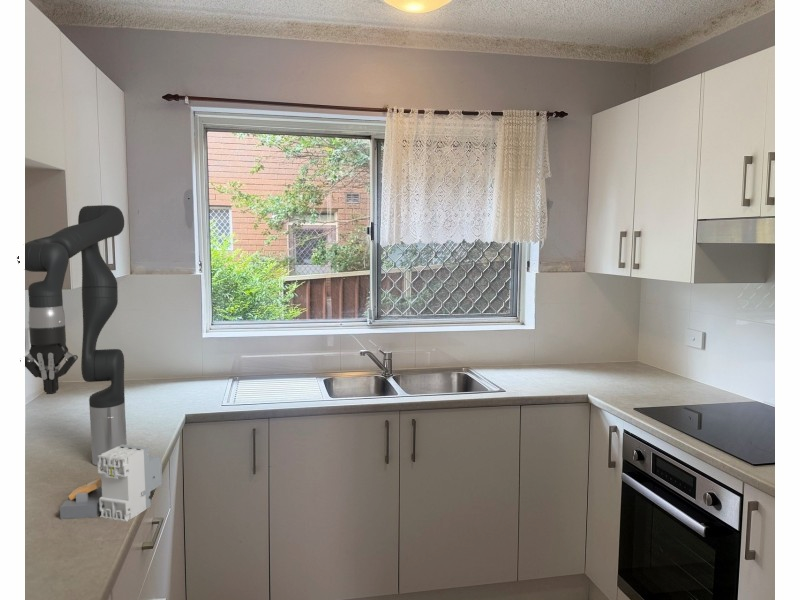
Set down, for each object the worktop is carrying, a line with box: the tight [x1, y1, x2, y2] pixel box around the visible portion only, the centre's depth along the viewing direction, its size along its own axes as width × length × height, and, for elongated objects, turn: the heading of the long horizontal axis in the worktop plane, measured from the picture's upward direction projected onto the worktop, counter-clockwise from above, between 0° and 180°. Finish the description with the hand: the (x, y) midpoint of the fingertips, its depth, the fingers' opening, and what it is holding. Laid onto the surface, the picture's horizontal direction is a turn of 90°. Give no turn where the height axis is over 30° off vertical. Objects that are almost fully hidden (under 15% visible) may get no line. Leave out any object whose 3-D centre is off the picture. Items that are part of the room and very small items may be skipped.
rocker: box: [68, 477, 102, 500], centre depth 139 cm, size 4×7×2 cm, turn 97°
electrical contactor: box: [97, 444, 163, 523], centre depth 140 cm, size 8×14×15 cm, turn 164°
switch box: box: [59, 482, 104, 520], centre depth 139 cm, size 10×8×5 cm
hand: (51, 393), depth 142 cm, fingers closed
